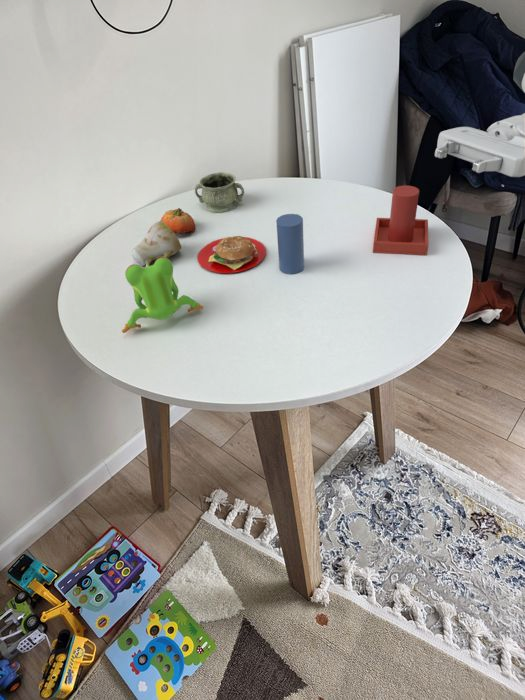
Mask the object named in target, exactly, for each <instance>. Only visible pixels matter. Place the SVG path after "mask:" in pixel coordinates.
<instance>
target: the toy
mask: <svg viewBox="0 0 525 700" xmlns="http://www.w3.org/2000/svg"><path fill="white" fill-rule="evenodd" d="M124 273H125V274H124V275H125V279H126V281H127V283H128V284H129V285H130V286H131V287H132V290H133V296H134V302H135V304H136V305H137V307H138V308H136V309H134V310H133V312H132V313H131V316H130V317H129V319H128V320H127V323H125V324H124V325H125V327H124V328H122V329H121V333H122V334H125V333H127V332H128V331H130V330H132V329H136V328H138V329H141V328H142V324H141V323H137V321H138V320H140V319H141V318H150V319H155V320H165V319H169V318H170V317H171V316H173V314H174V313H175V312H176V311H177V310H178V309H179V308H181V307H182V306H185V305H189V306H190V307H189V308H188V309H187V310H186V311H187V313H188V314H190V313H191V312H193V311H196V310H201V309H202V310H203V309H204V305H201V304H200V303H198V302H197V301H196V300H194V299H193V298H191V297H189V296H188V295H185V294H182V295H181V296H180V297H179V292H180V291H179V287H178V285H177V283H176V281H175V279H174V276H173V274H174V266H173V263H172V261H171V260H170V258H166V257H159V258H158V259H156V260H154V264H151V265H150V266H148V267H146V266H144V267H143V266H142V267H141V265H139V264H135V263H133V264H130V265H129V266H128V267H127V268H126V270H125V272H124ZM142 301H143V302H144V303H143V302H142Z"/></svg>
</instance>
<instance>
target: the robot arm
mask: <svg viewBox="0 0 525 700" xmlns="http://www.w3.org/2000/svg"><path fill="white" fill-rule="evenodd" d="M512 76H513V77H512V79H513V82H515V84H516V85H517V86H518V87H519V89H520V90H521V91H522V92H523V93H524V94H525V51H523V52H522V53H521V54H520V56H518V59H516V62H515V65H514V70H513V75H512ZM447 155H449V156H452V157H455V158H457V159H461V160H464V161H466V162H469V163H471V164H472V168H471V171H473V172H475V173H477V174H480V173H483V172H497V173H500V174H502V175H504V176H507V177H510V178H521V177H524V176H525V112H524V113H522V114H519V115H513V116H510V117H507V118H504V119H502V120H498V121H496V122H494V123H492V124H491V125H490V126H488V128H487V129H486V131H484V130H481V129H477V128H474V127H472V126H458V127H454V128H449V129H447V130H445V129H444V130H443V131H440V132H439V134H438V138H437V144H436V148H435V151H434V157H435V158H438V159H445V158H447Z"/></svg>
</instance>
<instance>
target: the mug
mask: <svg viewBox="0 0 525 700" xmlns="http://www.w3.org/2000/svg"><path fill="white" fill-rule="evenodd" d="M180 250H182V244H181V242H180V240H179V238H178V237H177V236H176V233H173V231H172V230H171V229H170V228H169V227H168V225H167V224H166V223H164V222H163V221H161V220H159V221H157V222H155V223H154V224H153V225H152V226H151V227H150V228H149V229H148V231H147V233H146V234H145V235H144V237H143V239H142V240H141V242H140V243H139V244H137V245H136V246H135V247H133V248H132V250H131V252H130V253H131V257H132V259H133V261H134V262H135V263H136V265H139V266H142V267H143V266H144V267H148V266H151V265H150V264H151V263H152V262H153V261H156V260H157V259H158V258H159V257H166V258H168V259H170V257H171V256H174V255H175V254H177V253H179V251H180Z"/></svg>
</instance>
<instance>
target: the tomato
mask: <svg viewBox="0 0 525 700" xmlns="http://www.w3.org/2000/svg"><path fill="white" fill-rule="evenodd" d="M160 221H163V222H164V223H166V224H167V225H168V227H169V228H170V229H171V230H172V231H173V233H174V234H178V233H179V234H180V233H181V234H185V233H189V232H195V231H196V222H195V220H194V218H193V217H192V216H191V215H190V214H189V213H188V212H186V211H184V210H183V209H181V208H180V207H177V208H176V209H169V210H167V211H166V212H164V214H163V215H162V217H161V218H160Z"/></svg>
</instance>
